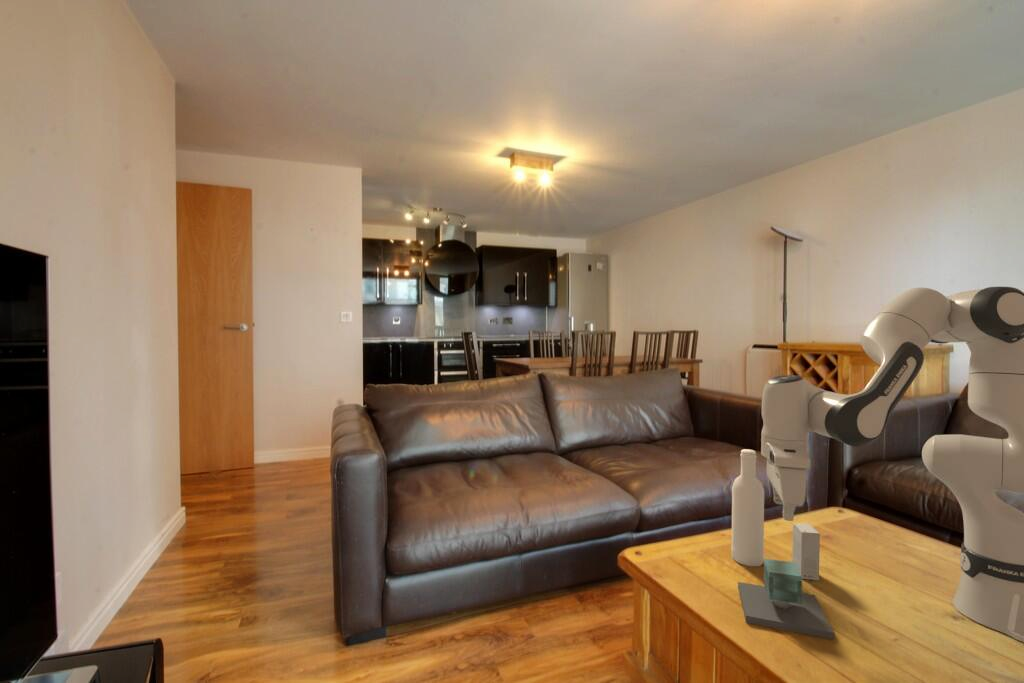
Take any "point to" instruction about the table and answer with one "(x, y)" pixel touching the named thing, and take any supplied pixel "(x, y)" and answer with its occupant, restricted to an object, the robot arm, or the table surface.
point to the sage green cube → (782, 581)
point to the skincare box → (806, 550)
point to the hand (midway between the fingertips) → (783, 511)
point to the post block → (784, 612)
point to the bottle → (748, 513)
